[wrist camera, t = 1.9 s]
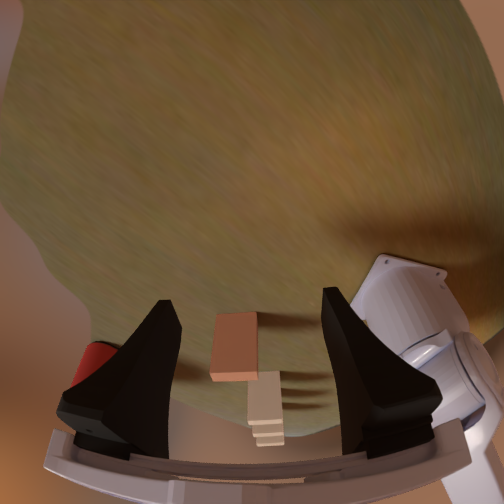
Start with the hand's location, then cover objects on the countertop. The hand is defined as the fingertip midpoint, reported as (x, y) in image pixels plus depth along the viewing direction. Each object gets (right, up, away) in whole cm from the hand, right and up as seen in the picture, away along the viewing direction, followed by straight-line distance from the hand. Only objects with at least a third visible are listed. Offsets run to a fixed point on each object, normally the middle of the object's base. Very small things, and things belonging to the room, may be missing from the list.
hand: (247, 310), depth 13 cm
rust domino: (-1, -4, +15) cm, 16 cm away
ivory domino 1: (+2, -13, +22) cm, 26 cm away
